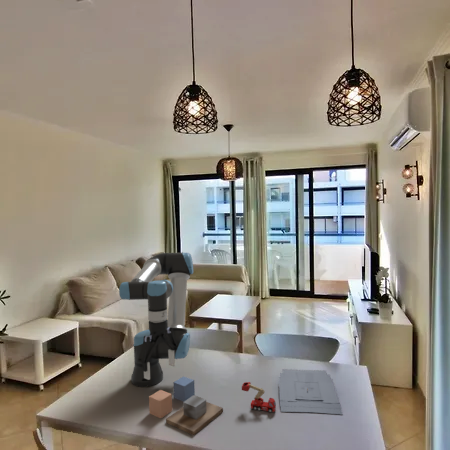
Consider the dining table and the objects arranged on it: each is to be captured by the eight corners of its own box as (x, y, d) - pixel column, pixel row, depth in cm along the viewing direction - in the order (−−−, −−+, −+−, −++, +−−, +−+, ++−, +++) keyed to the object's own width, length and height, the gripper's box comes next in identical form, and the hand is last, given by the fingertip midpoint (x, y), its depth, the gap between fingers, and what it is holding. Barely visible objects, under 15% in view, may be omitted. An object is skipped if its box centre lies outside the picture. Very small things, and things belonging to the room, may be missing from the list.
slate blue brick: (173, 397, 152) (173, 382, 152) (183, 391, 158) (183, 376, 157) (184, 402, 149) (184, 386, 148) (194, 395, 154) (194, 380, 154)
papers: (330, 375, 166) (330, 368, 166) (343, 420, 137) (343, 412, 136) (278, 374, 169) (278, 367, 169) (280, 417, 140) (280, 409, 139)
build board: (166, 422, 134) (165, 406, 134) (196, 401, 149) (196, 386, 149) (193, 435, 126) (193, 418, 126) (223, 411, 141) (222, 395, 141)
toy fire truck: (275, 413, 139) (274, 389, 138) (241, 407, 143) (241, 384, 143) (276, 408, 142) (276, 385, 141) (244, 403, 146) (243, 381, 146)
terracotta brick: (149, 413, 141) (148, 396, 141) (161, 406, 146) (160, 389, 146) (160, 418, 137) (160, 401, 137) (172, 410, 143) (171, 394, 142)
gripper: (140, 330, 128) (142, 387, 129) (185, 313, 148) (187, 362, 149) (126, 327, 132) (129, 382, 133) (173, 310, 153) (174, 358, 153)
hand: (159, 371), depth 141 cm, fingers open, 13 cm apart
